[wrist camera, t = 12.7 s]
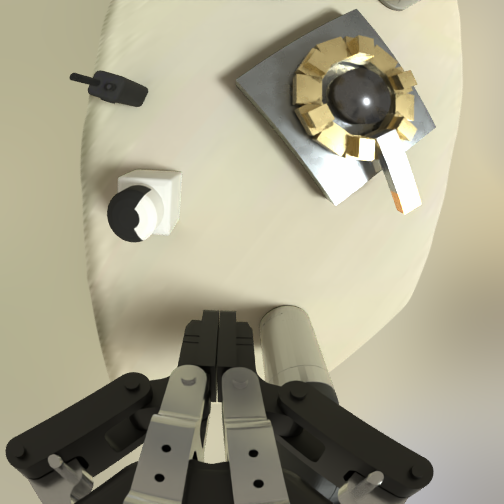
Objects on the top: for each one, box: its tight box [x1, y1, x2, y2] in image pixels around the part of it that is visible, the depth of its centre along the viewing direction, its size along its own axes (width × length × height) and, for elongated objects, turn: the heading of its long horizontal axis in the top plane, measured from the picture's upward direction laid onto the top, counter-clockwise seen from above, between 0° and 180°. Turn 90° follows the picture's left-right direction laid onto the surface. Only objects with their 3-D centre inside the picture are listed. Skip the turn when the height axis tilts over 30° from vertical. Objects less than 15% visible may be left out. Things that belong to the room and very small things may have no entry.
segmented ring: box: [293, 35, 421, 214], centre depth 29 cm, size 16×24×4 cm
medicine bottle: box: [107, 169, 182, 242], centre depth 33 cm, size 7×7×12 cm
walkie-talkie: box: [70, 71, 148, 107], centre depth 26 cm, size 5×3×15 cm
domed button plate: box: [236, 9, 436, 206], centre depth 31 cm, size 21×21×8 cm
